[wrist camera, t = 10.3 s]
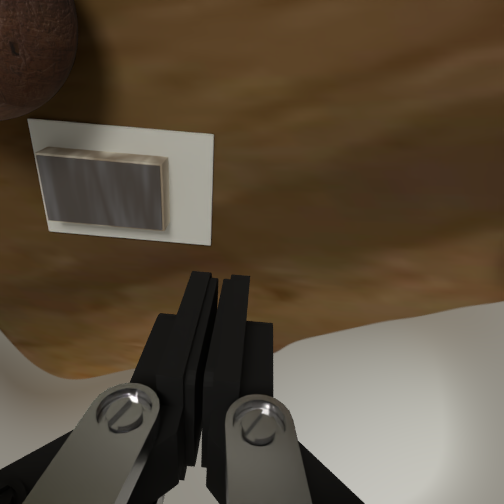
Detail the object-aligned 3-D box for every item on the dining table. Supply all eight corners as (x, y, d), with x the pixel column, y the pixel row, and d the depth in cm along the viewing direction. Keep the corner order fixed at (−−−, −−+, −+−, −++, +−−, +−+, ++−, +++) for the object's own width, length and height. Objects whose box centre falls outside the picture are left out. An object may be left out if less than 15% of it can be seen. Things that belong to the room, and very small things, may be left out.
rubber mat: (214, 134, 37) (213, 135, 37) (210, 243, 43) (210, 245, 43) (29, 118, 38) (27, 118, 37) (50, 229, 43) (49, 231, 43)
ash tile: (161, 164, 36) (33, 153, 36) (164, 232, 39) (46, 221, 39) (168, 156, 38) (48, 146, 38) (170, 221, 42) (59, 211, 42)
